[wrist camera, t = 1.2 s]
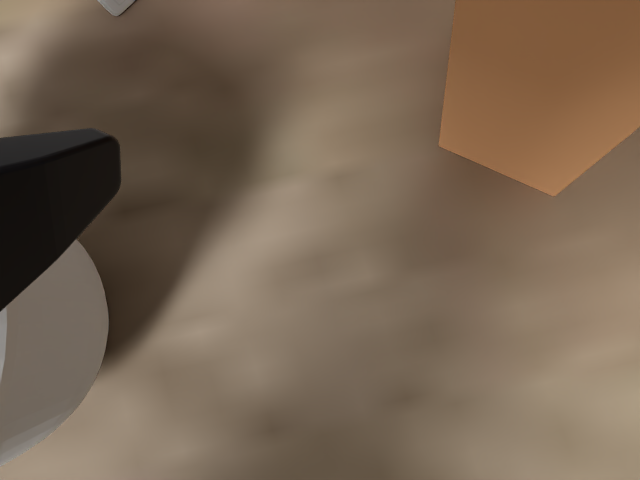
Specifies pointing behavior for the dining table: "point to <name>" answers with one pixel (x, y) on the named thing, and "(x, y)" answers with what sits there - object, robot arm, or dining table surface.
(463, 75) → the orange carton
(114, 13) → the supplement box
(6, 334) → the teacup
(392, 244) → the dining table surface
